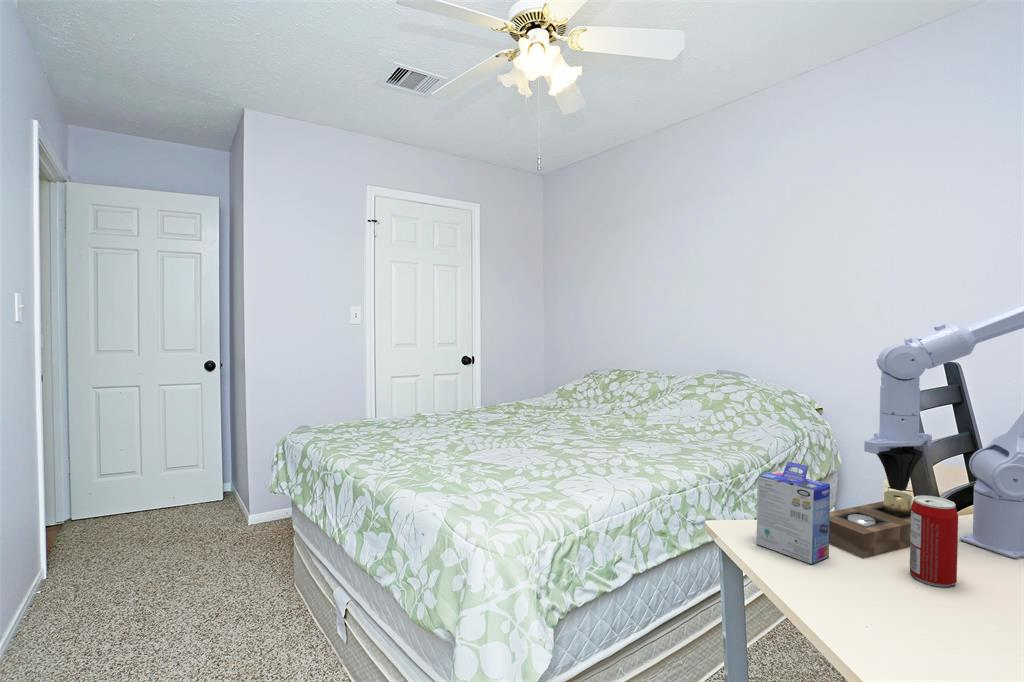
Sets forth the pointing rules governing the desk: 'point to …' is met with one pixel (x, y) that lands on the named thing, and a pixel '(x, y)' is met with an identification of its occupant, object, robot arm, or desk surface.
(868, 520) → the steel peg
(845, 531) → the brown peg hole block
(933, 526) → the soda can
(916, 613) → the desk surface
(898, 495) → the brass peg
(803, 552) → the ink cartridge box
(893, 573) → the desk surface
